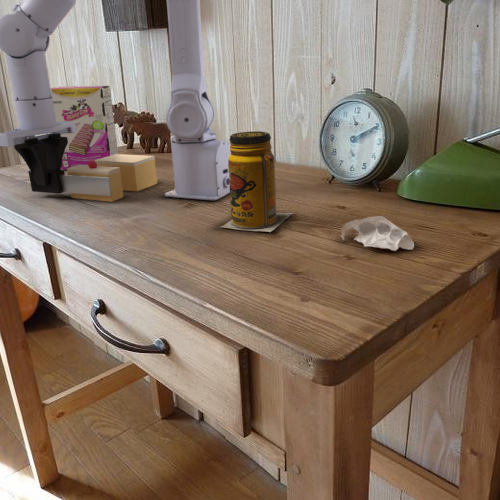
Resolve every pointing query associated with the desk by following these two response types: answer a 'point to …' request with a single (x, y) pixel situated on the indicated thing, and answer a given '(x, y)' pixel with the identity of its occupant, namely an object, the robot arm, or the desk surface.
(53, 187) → the knife
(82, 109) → the candy bar box
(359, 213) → the desk surface
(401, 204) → the desk surface
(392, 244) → the white irregular chunk
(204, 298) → the desk surface
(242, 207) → the condiment
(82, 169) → the cake slice
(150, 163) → the cake
